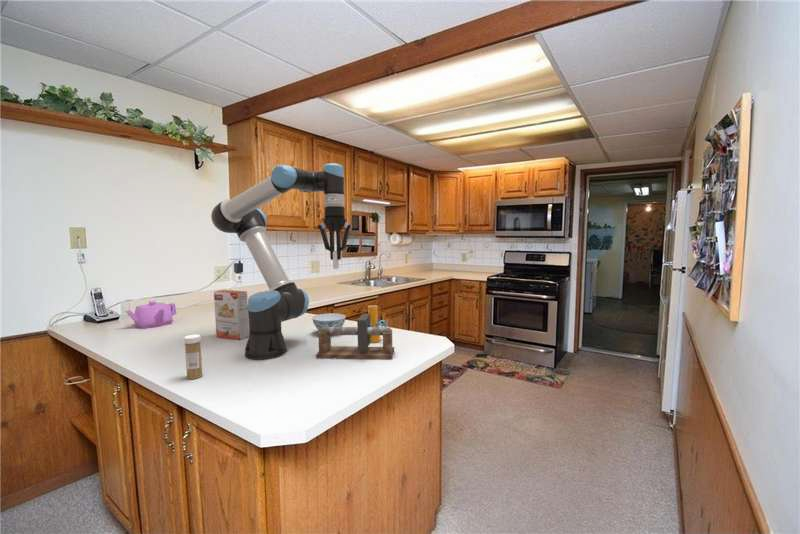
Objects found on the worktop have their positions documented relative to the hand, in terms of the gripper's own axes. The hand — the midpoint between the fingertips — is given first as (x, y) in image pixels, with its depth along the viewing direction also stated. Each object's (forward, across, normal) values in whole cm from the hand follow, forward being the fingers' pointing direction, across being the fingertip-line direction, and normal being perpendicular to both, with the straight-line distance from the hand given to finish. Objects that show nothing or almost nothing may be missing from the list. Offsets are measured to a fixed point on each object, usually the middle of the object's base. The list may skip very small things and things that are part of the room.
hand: (336, 268), depth 138 cm
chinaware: (+33, -10, +25) cm, 42 cm away
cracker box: (+33, -52, +17) cm, 64 cm away
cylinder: (+33, +12, +14) cm, 37 cm away
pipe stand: (+32, +8, -4) cm, 34 cm away
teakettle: (+33, -105, +37) cm, 116 cm away
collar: (+29, +11, -4) cm, 31 cm away
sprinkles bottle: (+33, -40, -28) cm, 59 cm away
